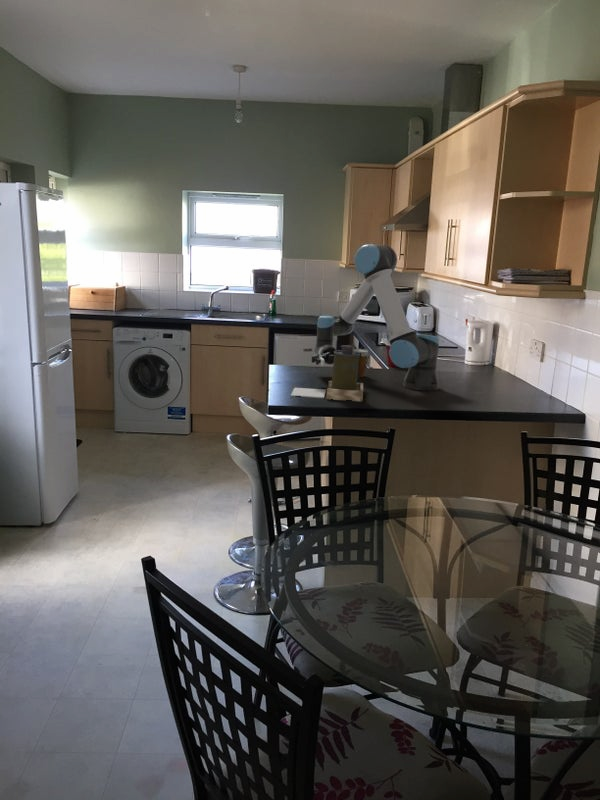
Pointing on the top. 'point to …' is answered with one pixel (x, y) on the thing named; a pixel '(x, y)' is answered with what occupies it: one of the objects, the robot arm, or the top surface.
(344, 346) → the canister
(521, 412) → the top surface
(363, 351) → the disposable coffee cup
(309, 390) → the mat
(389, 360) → the plastic cup
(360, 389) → the tan low open frame
